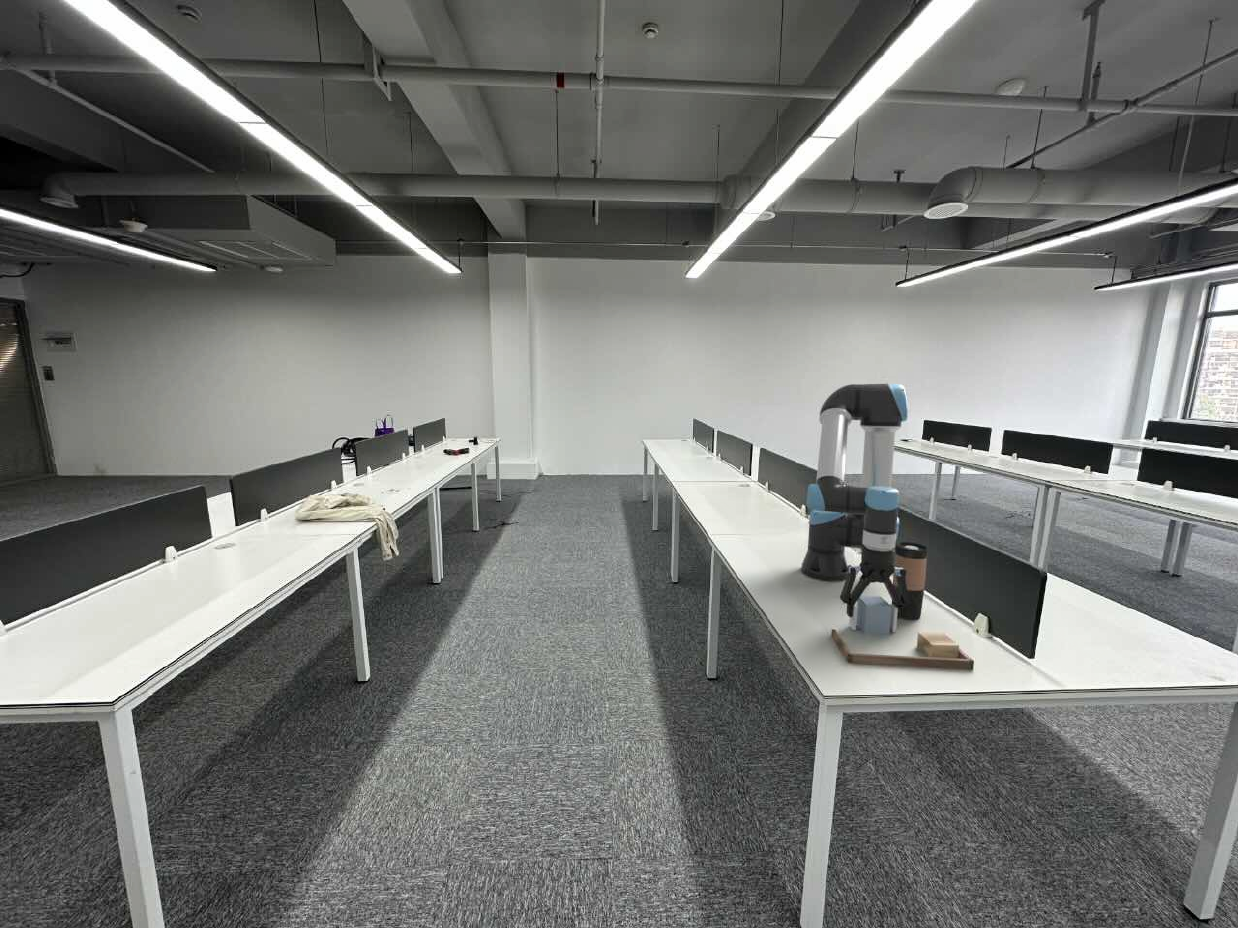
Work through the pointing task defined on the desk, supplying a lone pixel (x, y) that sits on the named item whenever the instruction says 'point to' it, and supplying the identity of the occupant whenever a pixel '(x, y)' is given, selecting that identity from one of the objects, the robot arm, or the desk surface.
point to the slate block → (873, 615)
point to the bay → (903, 658)
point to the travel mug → (911, 576)
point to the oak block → (937, 645)
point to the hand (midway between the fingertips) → (872, 628)
